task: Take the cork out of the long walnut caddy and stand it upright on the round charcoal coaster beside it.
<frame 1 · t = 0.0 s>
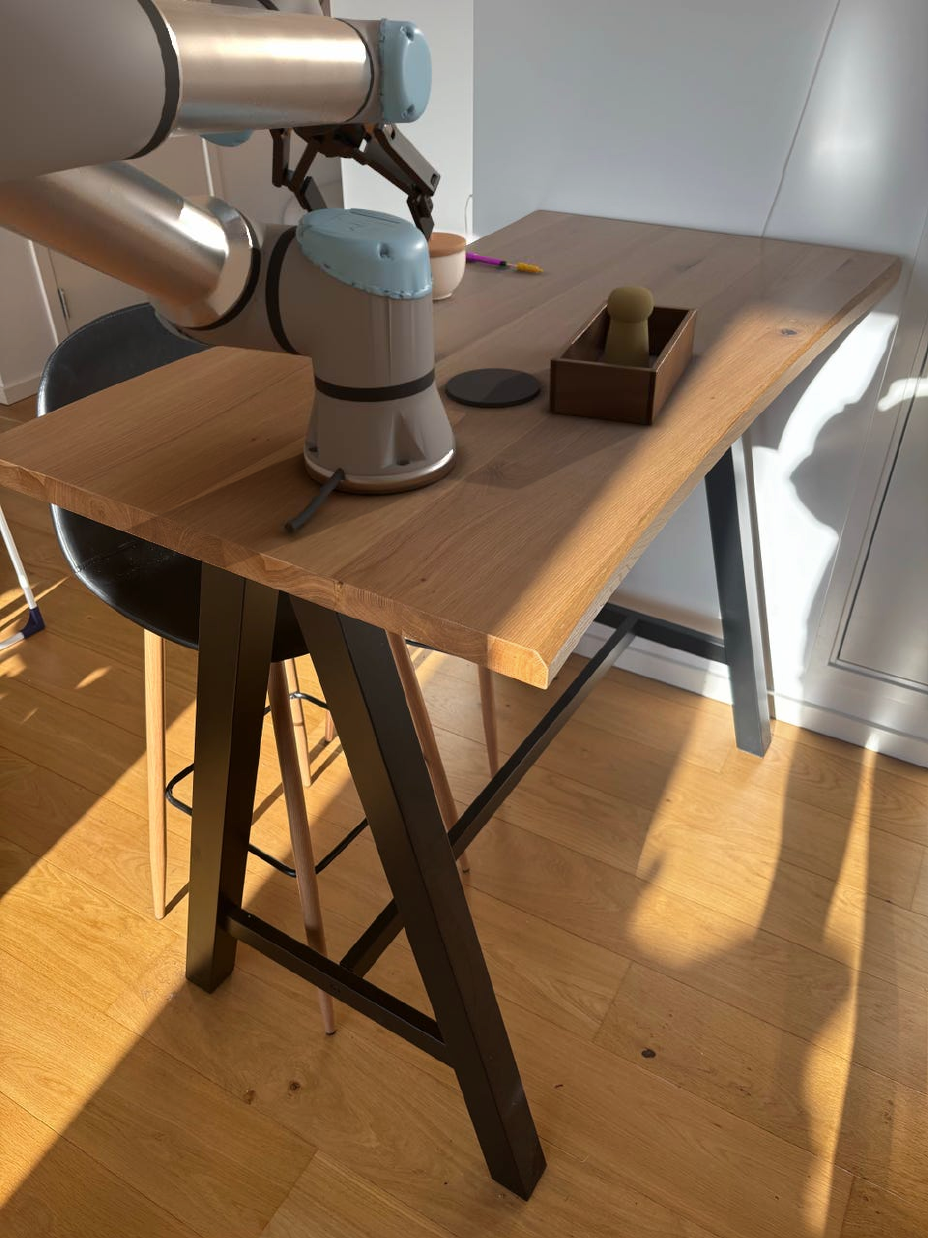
hand: (376, 229, 117), 15 cm above the table, tool tilted 35°, fingers open, 13 cm apart
purple and yellow rod: (503, 267, 159), on the table
cork: (624, 384, 116), resting in caddy
trinket box: (431, 295, 147), on the table
caddy: (624, 382, 116), on the table
coaster: (493, 389, 115), on the table
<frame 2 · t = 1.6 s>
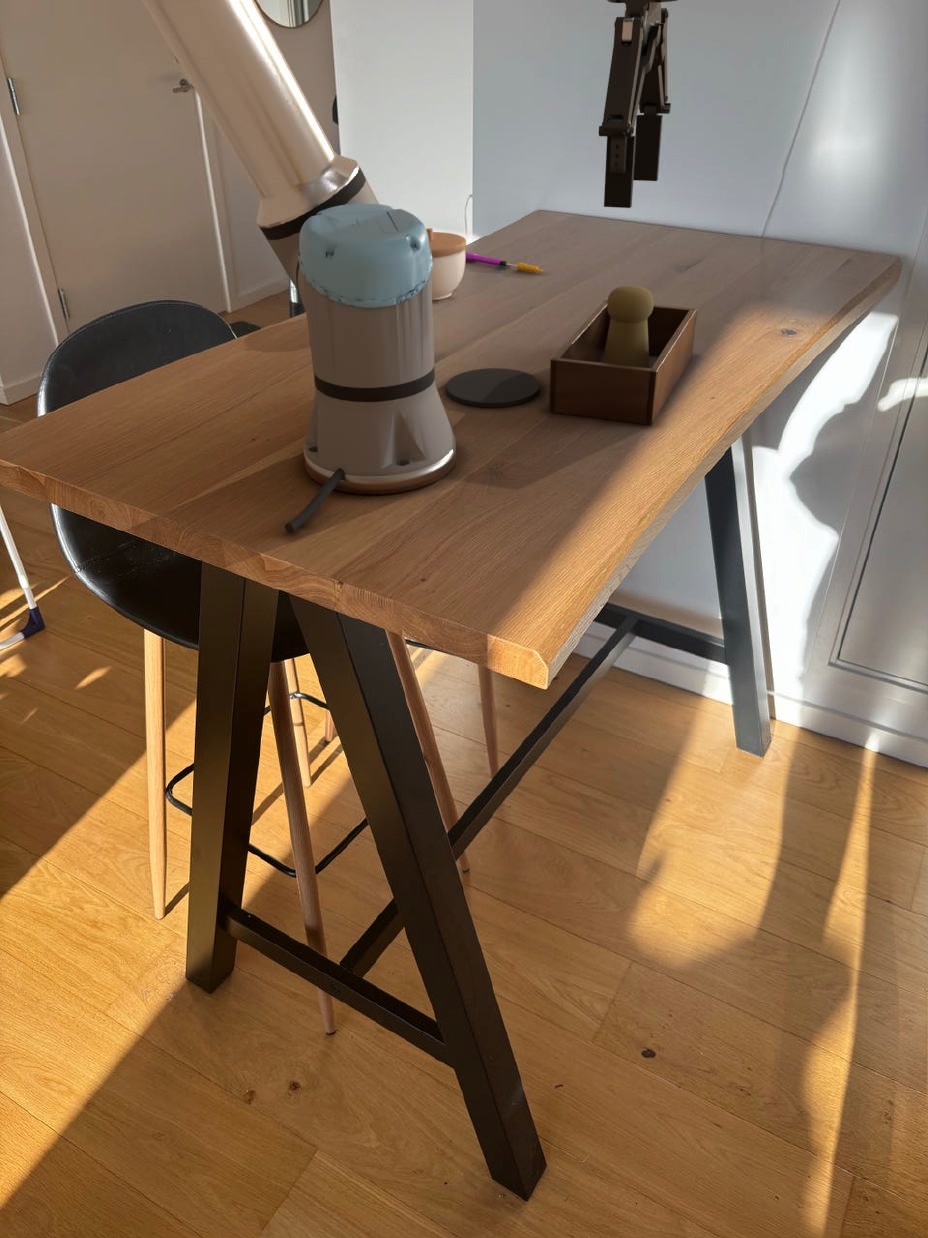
hand: (632, 193, 105), 21 cm above the table, tool pointing down, fingers open, 13 cm apart
nothing on the table moved.
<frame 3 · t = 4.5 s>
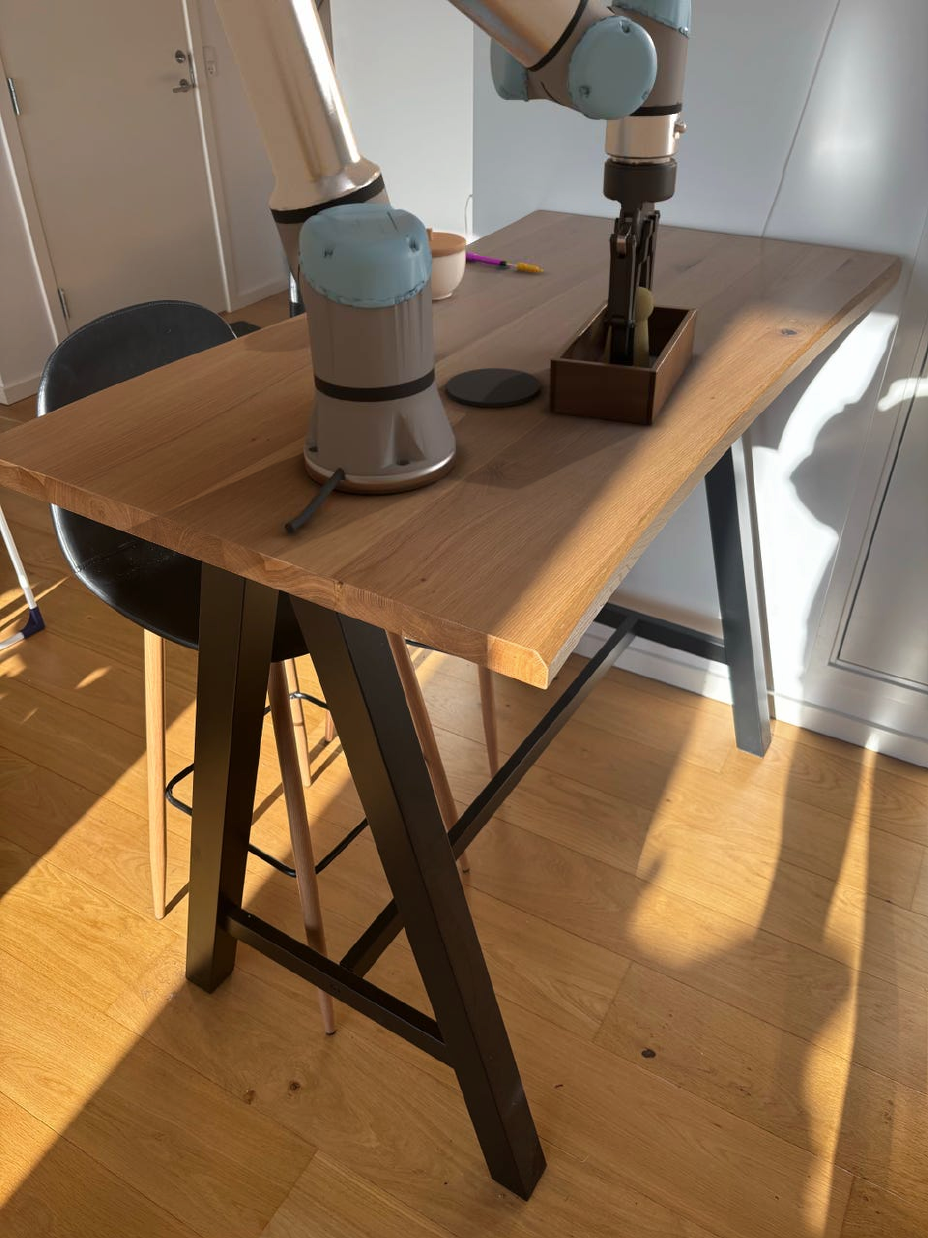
hand: (625, 373, 115), 1 cm above the table, tool pointing down, fingers closed on cork, 4 cm apart
cork: (624, 384, 116), resting in caddy, touching gripper
everything else where it was.
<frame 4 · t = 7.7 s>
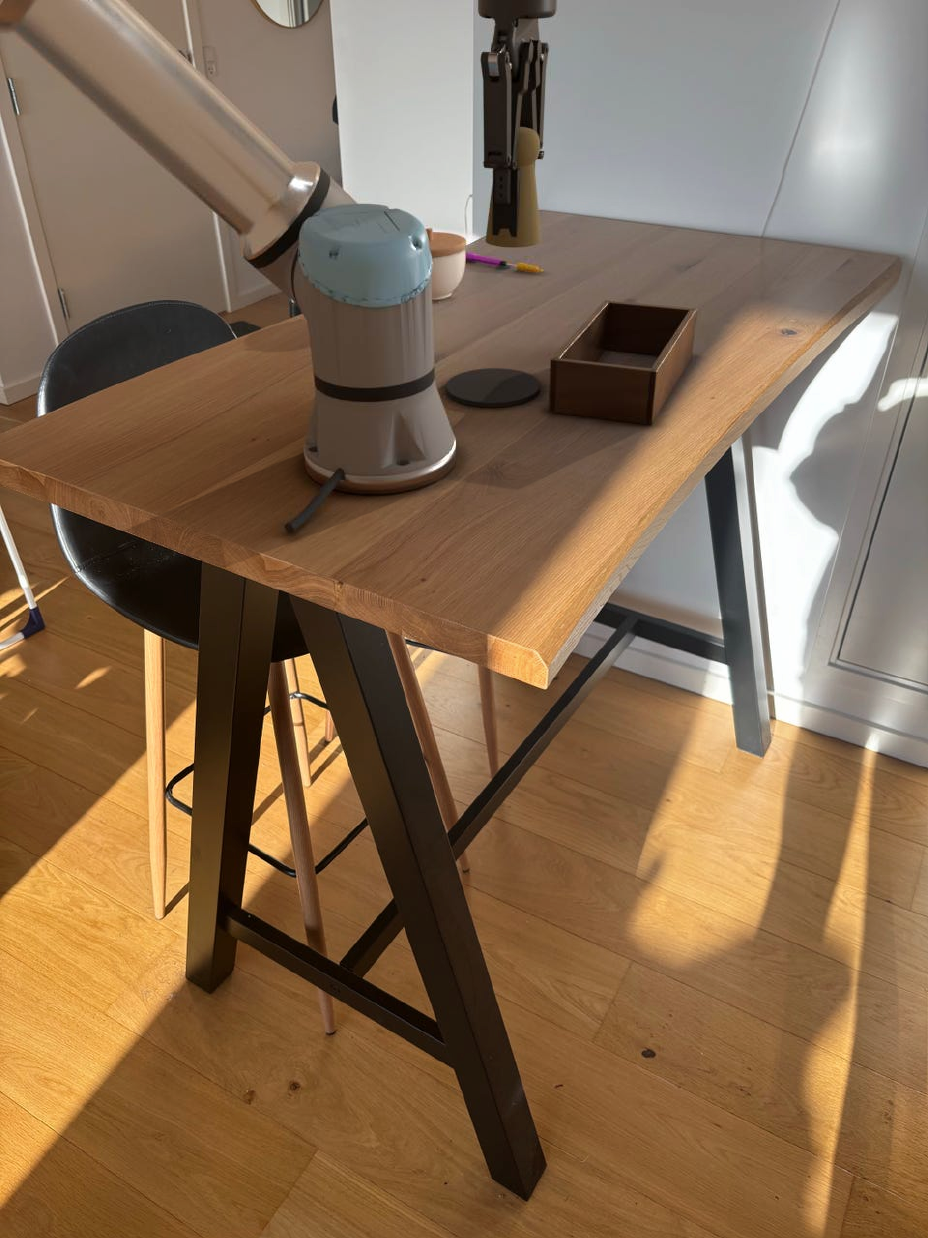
hand: (513, 229, 105), 18 cm above the table, tool pointing down, fingers closed on cork, 4 cm apart
cork: (513, 242, 106), point 17 cm above the table, touching gripper
everything else where it was.
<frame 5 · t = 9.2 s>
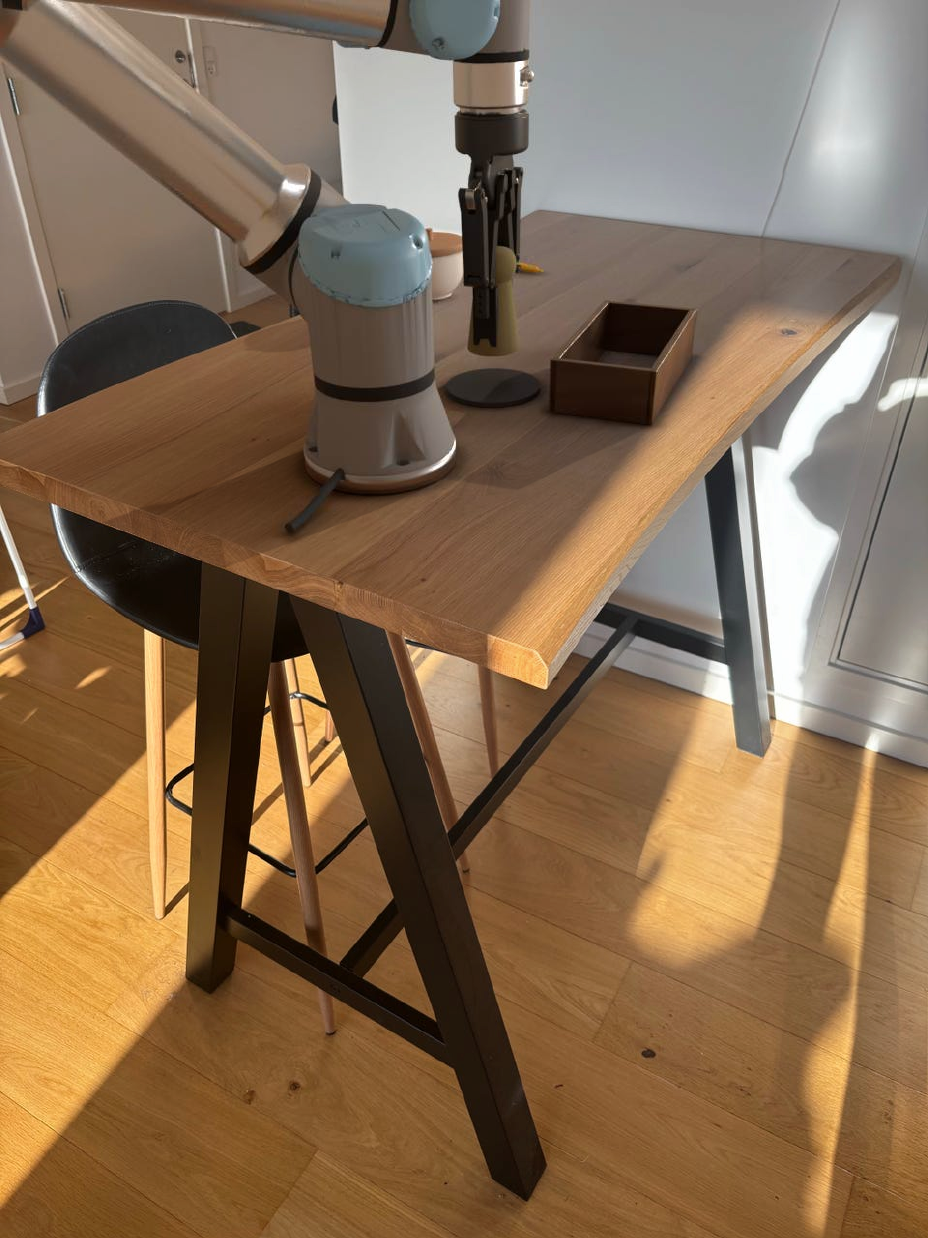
hand: (493, 337, 112), 6 cm above the table, tool pointing down, fingers closed on cork, 4 cm apart
cork: (493, 348, 112), point 5 cm above the table, touching gripper
everything else where it was.
when the fingers open (2 cm above the table, at t = 10.7 s): cork stays where it is, resting on coaster.
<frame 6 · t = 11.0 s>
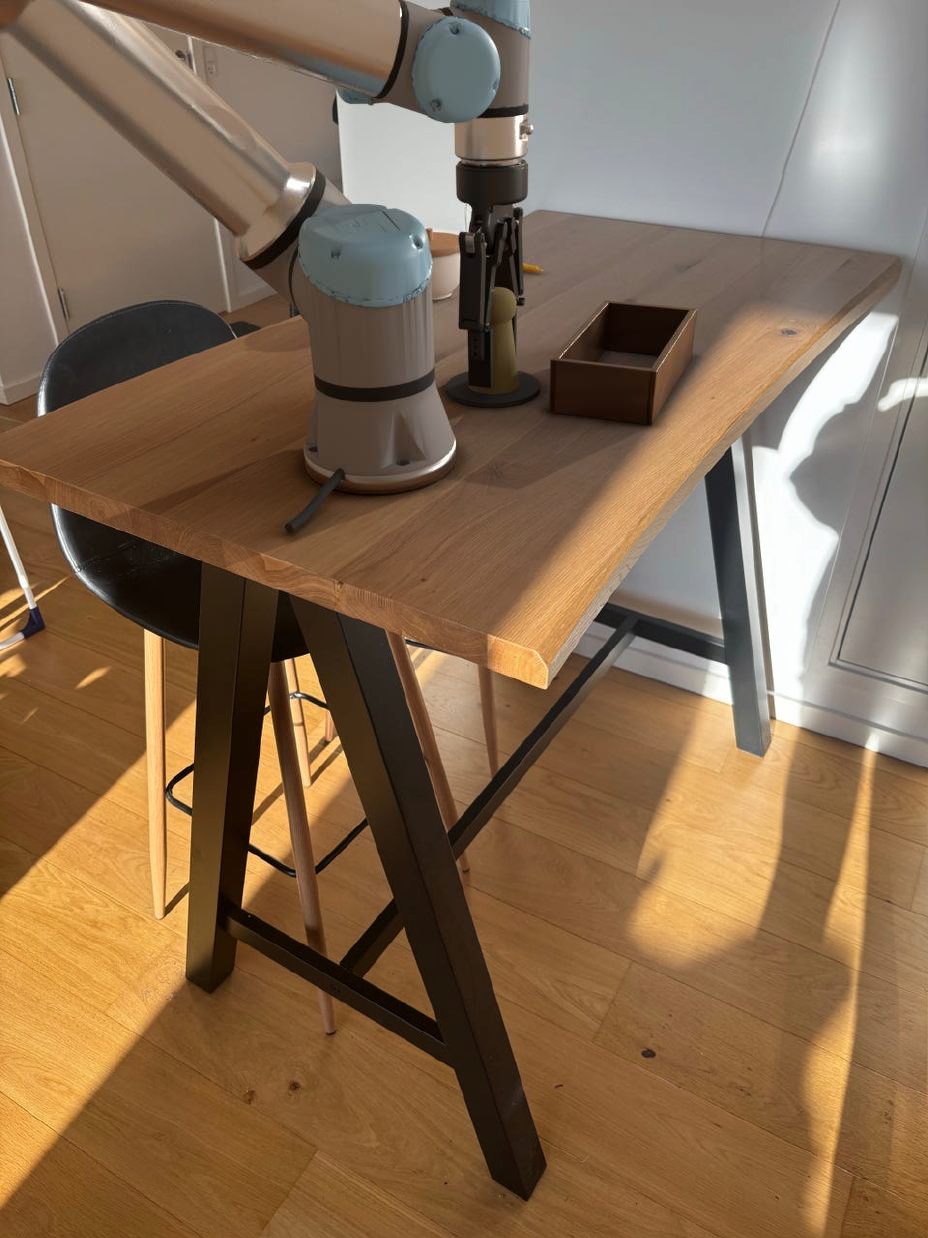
hand: (493, 373, 114), 2 cm above the table, tool pointing down, fingers open, 7 cm apart
cork: (493, 386, 115), resting on coaster
everything else where it was.
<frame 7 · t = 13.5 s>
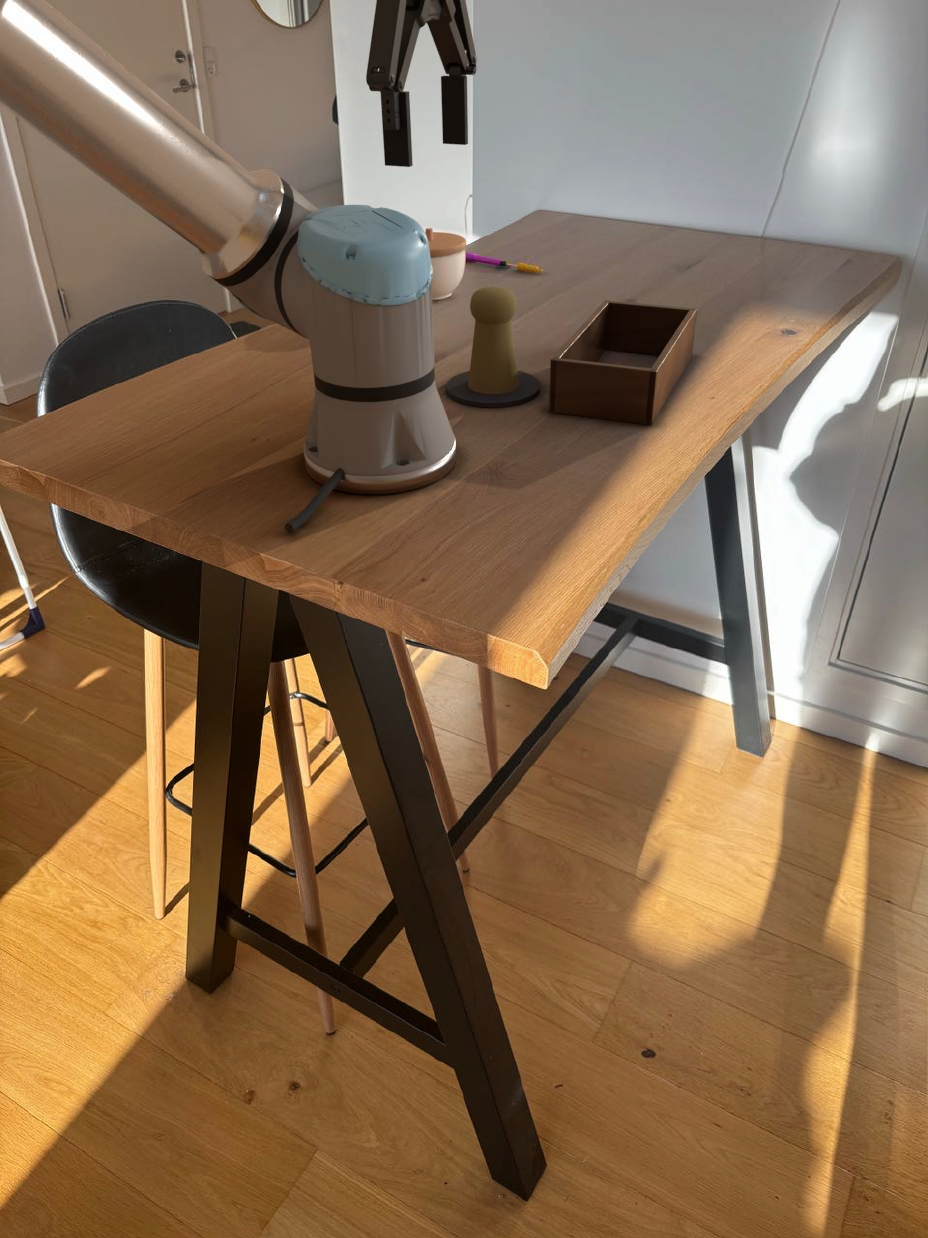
hand: (428, 154, 102), 25 cm above the table, tool pointing down, fingers open, 13 cm apart
nothing on the table moved.
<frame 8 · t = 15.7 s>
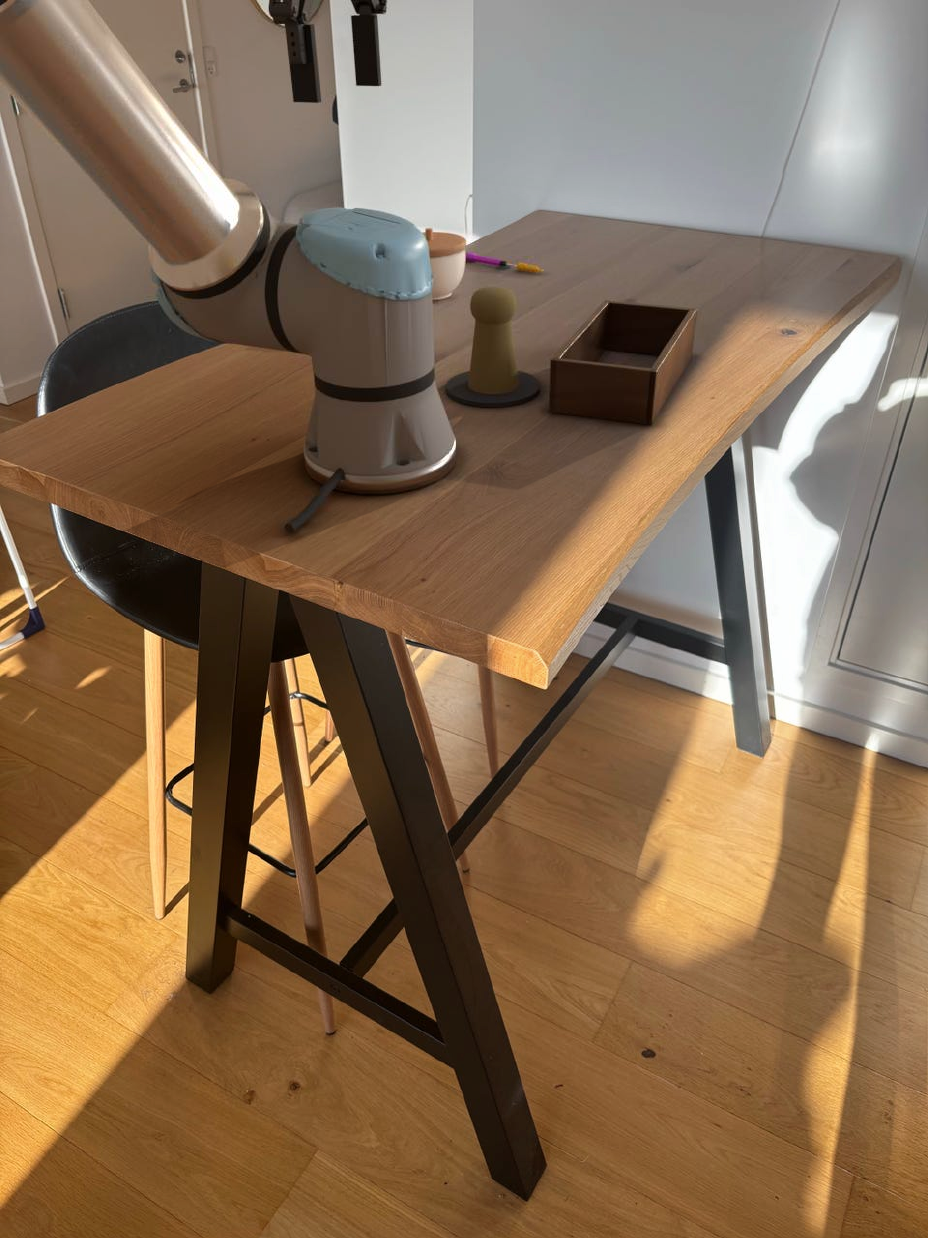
hand: (339, 93, 101), 31 cm above the table, tool pointing down, fingers open, 13 cm apart
nothing on the table moved.
at the end: cork 0.1 cm off-centre on the coaster, point 0.4 cm above the coaster's base; cork tilted 0°; the gripper is holding nothing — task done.
